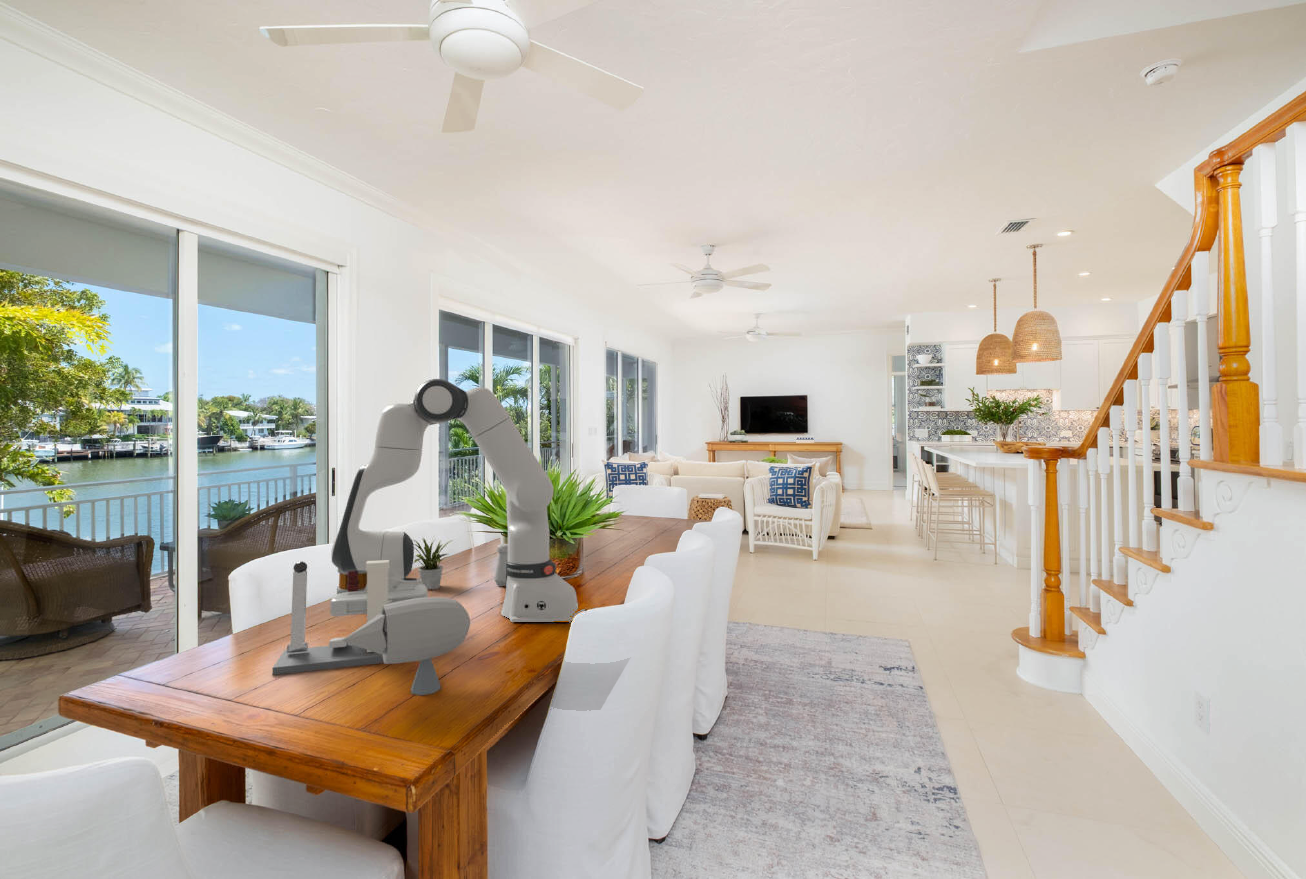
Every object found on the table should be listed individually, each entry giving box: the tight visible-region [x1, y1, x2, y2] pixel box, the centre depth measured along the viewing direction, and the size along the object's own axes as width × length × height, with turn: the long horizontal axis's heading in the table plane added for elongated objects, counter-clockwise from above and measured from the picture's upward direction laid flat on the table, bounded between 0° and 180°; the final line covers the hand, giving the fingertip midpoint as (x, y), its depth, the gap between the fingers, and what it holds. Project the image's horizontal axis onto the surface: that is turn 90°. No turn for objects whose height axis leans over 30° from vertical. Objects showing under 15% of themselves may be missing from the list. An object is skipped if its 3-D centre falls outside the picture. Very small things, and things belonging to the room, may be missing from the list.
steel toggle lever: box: [286, 560, 309, 653], centre depth 129 cm, size 3×4×19 cm
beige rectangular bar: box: [366, 560, 389, 652], centre depth 130 cm, size 2×4×19 cm, turn 109°
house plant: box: [411, 536, 453, 590], centre depth 186 cm, size 14×14×16 cm
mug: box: [336, 568, 367, 595], centre depth 174 cm, size 11×16×15 cm, turn 18°
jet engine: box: [341, 596, 471, 696], centre depth 114 cm, size 15×20×18 cm
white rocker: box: [328, 636, 350, 648], centre depth 131 cm, size 5×3×1 cm, turn 20°
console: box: [272, 643, 385, 676], centre depth 129 cm, size 10×22×2 cm, turn 110°
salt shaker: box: [493, 543, 508, 587], centre depth 190 cm, size 6×6×13 cm
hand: (377, 611), depth 130 cm, fingers closed, pressing on beige rectangular bar
